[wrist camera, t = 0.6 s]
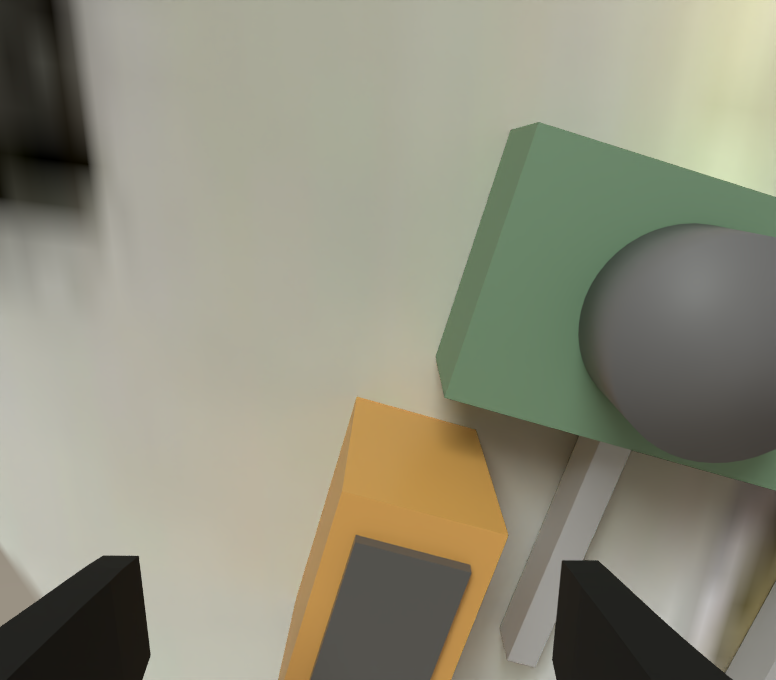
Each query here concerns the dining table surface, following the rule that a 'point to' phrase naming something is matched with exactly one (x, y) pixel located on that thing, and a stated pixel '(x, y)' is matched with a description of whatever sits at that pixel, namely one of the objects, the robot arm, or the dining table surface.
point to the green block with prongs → (618, 339)
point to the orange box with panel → (396, 552)
